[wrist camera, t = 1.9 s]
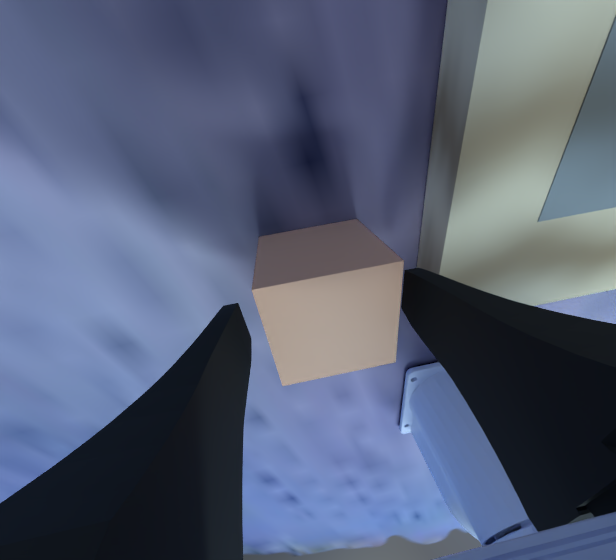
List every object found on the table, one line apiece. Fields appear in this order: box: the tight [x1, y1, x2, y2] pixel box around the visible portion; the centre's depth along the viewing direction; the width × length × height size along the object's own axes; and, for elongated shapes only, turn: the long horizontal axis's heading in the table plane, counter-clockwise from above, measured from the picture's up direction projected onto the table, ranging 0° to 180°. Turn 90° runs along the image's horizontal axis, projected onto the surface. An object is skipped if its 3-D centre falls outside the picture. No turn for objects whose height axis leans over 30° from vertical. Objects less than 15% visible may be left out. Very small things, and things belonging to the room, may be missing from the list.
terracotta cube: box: [252, 219, 404, 386], centre depth 11 cm, size 5×5×5 cm
